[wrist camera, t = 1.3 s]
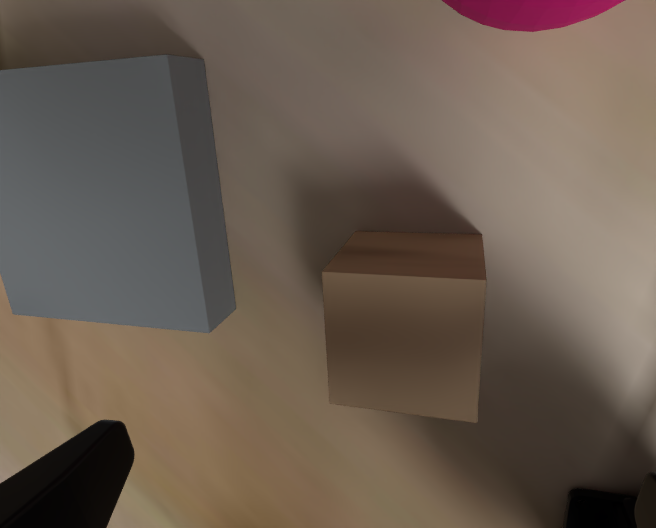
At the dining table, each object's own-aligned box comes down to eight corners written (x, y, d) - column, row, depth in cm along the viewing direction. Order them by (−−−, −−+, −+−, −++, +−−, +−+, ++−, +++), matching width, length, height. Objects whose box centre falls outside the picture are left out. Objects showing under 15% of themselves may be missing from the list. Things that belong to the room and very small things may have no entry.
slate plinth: (236, 308, 22) (209, 333, 20) (53, 294, 25) (13, 314, 23) (203, 59, 18) (166, 54, 16) (-5, 77, 21) (-61, 75, 19)
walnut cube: (474, 347, 20) (476, 423, 15) (359, 337, 21) (329, 403, 16) (481, 233, 18) (486, 280, 13) (356, 230, 19) (321, 271, 15)
